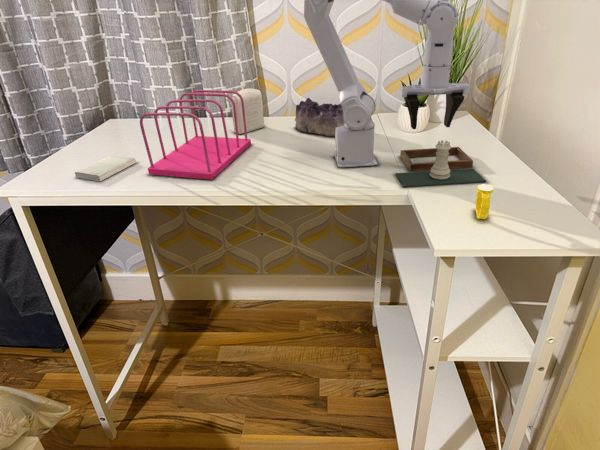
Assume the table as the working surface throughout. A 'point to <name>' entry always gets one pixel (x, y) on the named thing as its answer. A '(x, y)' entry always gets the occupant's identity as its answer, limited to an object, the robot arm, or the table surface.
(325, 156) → the table surface
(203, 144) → the file sorter
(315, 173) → the table surface
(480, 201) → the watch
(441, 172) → the rook chess piece
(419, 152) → the desk tray
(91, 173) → the hard drive
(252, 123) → the white rounded block
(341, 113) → the geode
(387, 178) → the table surface
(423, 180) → the desk mat
